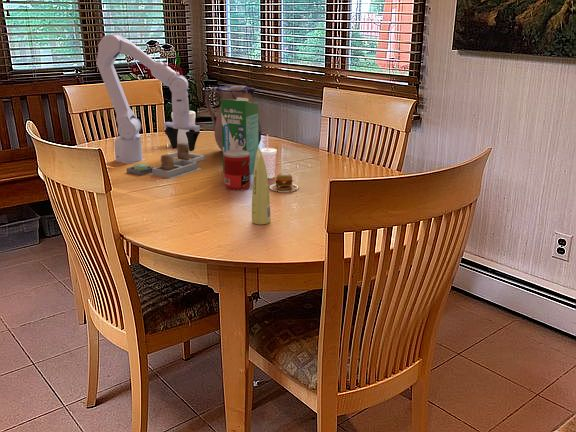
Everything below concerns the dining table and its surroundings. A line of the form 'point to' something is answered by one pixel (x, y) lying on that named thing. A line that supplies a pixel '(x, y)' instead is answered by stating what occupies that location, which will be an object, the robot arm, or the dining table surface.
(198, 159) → the white shallow tray
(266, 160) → the beverage cup
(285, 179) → the hamburger
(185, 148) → the cylinder
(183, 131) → the foam cup
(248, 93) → the ceramic pitcher
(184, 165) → the grey rectangular tray
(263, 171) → the tube
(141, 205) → the dining table surface
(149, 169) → the button housing
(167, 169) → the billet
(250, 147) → the milk carton
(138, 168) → the button
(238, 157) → the canned food
